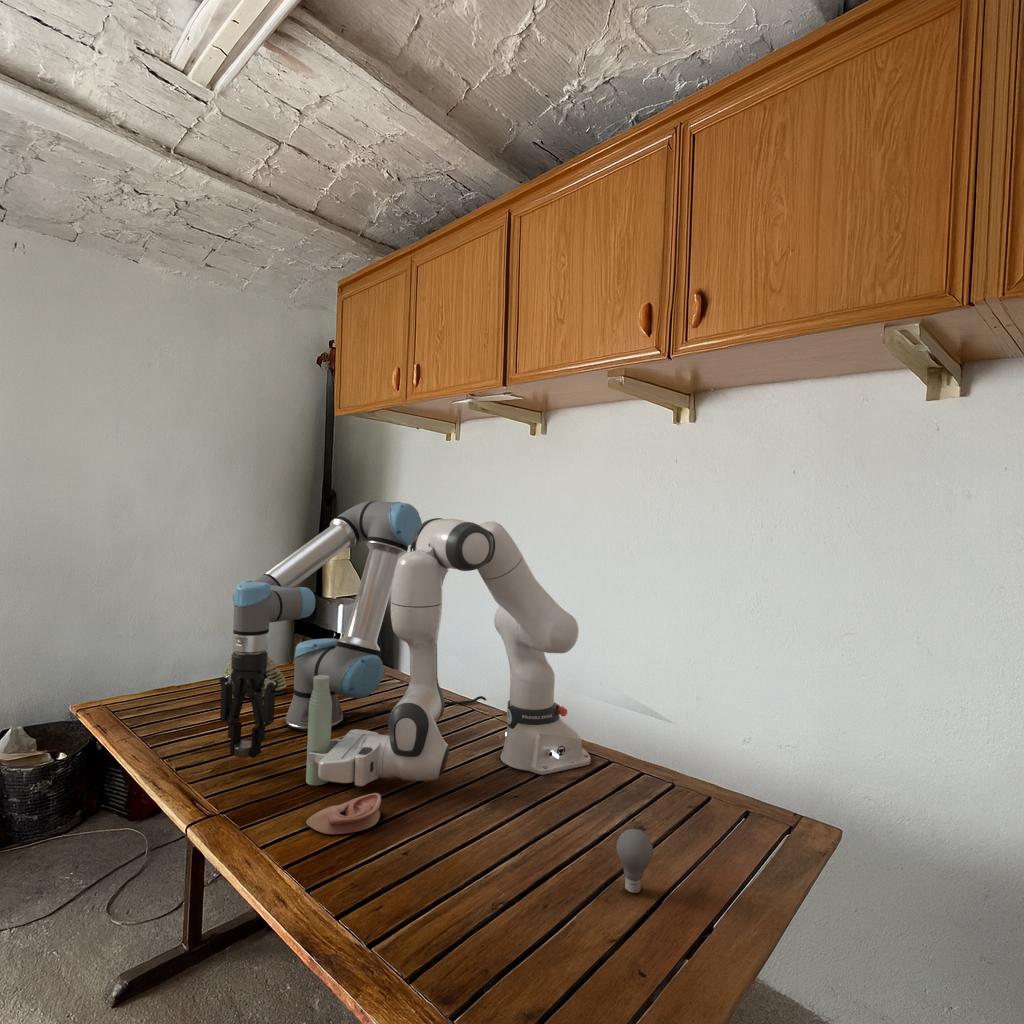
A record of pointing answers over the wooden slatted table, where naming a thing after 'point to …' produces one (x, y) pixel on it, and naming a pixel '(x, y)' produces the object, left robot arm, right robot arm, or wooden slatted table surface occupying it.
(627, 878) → the light bulb
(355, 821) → the anatomical model
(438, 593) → the right robot arm
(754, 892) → the wooden slatted table surface
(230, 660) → the fossil
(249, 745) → the cap
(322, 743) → the bottle
